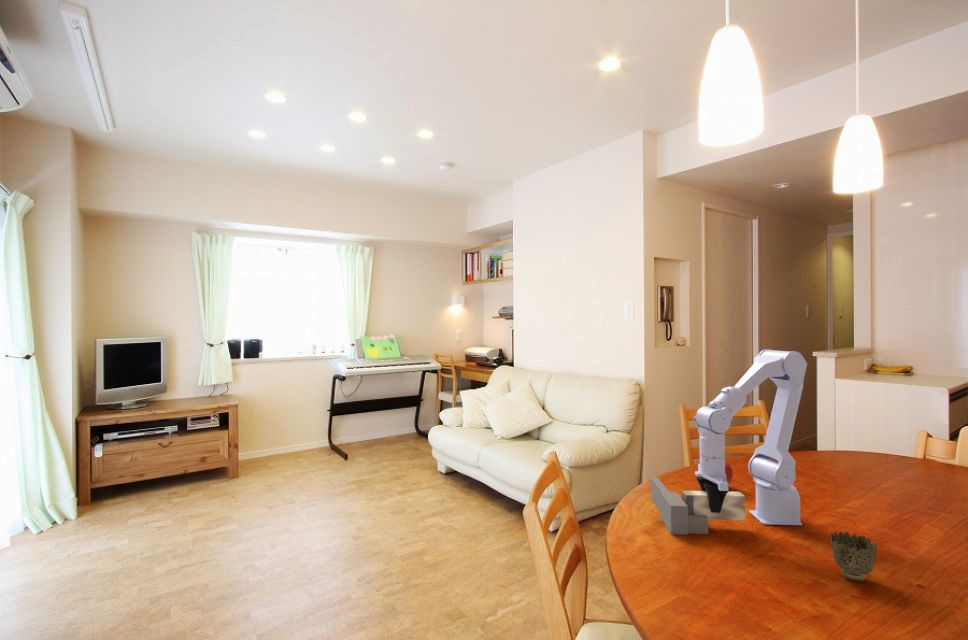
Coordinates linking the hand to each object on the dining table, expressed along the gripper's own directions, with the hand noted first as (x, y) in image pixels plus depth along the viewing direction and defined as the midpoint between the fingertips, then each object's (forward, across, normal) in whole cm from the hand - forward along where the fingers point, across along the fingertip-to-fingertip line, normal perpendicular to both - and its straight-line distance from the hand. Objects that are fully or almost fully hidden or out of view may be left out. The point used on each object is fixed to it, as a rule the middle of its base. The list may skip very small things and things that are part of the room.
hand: (712, 509), depth 119 cm
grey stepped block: (+5, -7, -7) cm, 11 cm away
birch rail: (+2, 0, 0) cm, 2 cm away
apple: (+5, -28, +12) cm, 31 cm away
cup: (+5, +22, +19) cm, 29 cm away
